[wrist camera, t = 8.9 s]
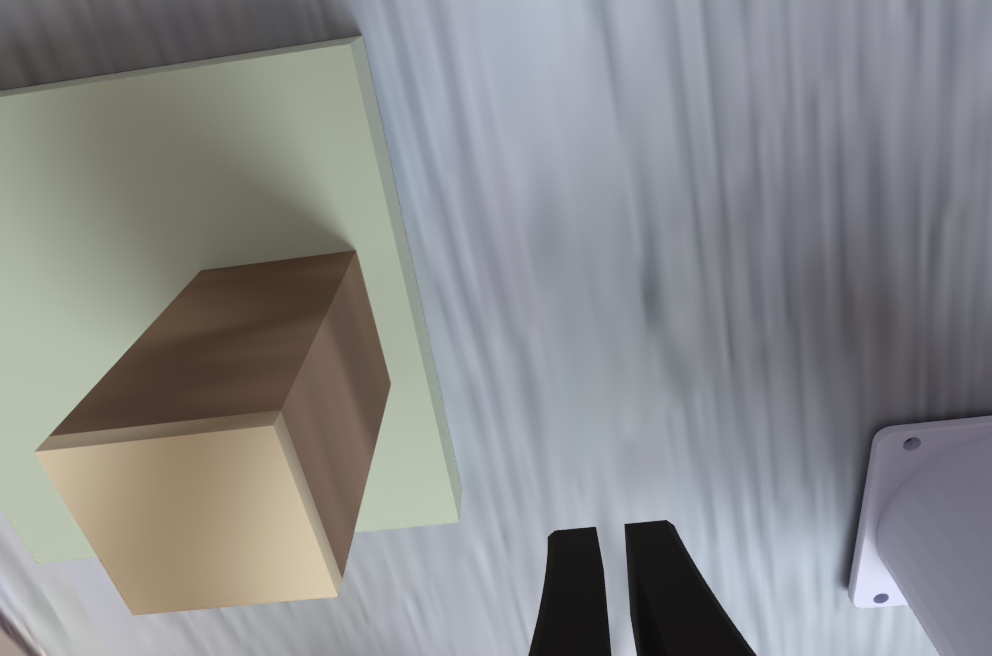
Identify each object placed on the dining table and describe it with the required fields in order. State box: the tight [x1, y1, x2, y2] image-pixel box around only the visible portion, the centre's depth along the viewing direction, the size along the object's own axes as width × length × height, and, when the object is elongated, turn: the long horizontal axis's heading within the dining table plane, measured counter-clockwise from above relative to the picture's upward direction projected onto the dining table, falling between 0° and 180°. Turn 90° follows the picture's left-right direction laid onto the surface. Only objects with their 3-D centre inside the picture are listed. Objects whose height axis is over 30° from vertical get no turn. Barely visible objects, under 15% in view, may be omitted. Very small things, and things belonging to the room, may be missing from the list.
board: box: [0, 35, 462, 563], centre depth 19 cm, size 14×14×2 cm
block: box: [34, 250, 391, 615], centre depth 15 cm, size 4×4×7 cm
